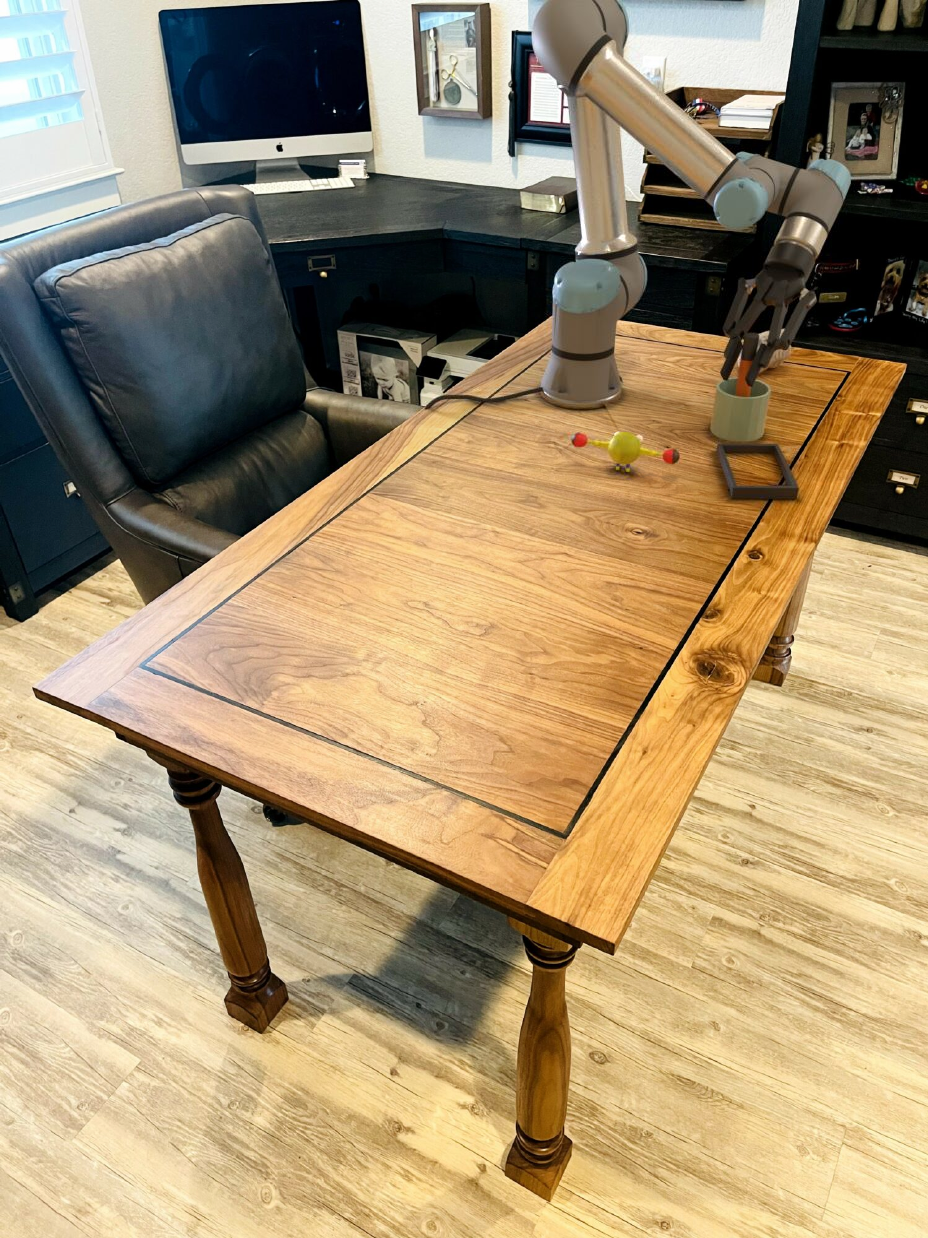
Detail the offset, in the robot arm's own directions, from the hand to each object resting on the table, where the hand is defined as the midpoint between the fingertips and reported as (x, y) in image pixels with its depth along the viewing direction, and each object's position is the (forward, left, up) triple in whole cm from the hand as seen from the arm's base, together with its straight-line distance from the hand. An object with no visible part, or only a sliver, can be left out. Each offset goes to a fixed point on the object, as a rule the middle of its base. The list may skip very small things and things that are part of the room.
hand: (736, 379), depth 159 cm
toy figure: (-20, -8, -11) cm, 25 cm away
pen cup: (+3, +3, -11) cm, 12 cm away
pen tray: (0, -13, -11) cm, 17 cm away
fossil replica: (+18, +30, -11) cm, 37 cm away
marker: (+3, +3, -11) cm, 11 cm away
